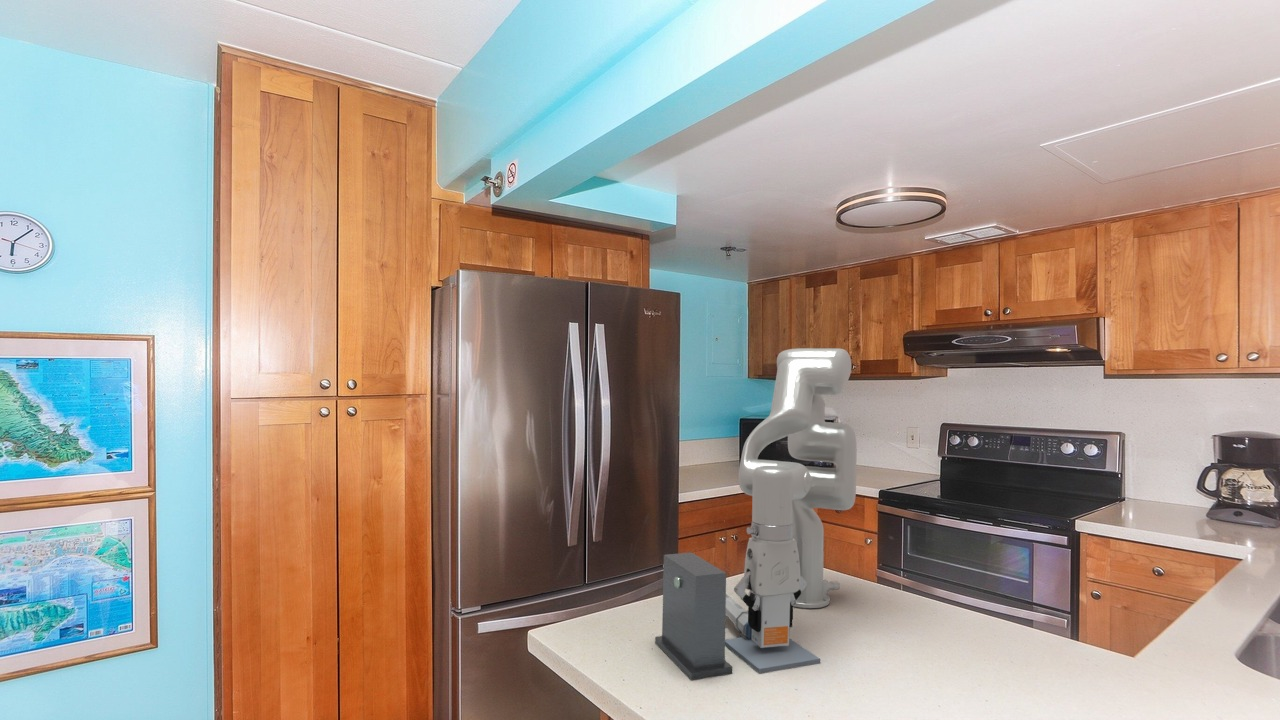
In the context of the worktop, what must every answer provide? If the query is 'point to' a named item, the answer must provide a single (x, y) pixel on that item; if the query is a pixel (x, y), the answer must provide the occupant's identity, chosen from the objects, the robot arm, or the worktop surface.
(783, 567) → the robot arm
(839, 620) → the worktop surface
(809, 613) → the worktop surface
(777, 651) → the slate mat
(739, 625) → the white elongated piece
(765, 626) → the skincare box
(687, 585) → the mounted unit
